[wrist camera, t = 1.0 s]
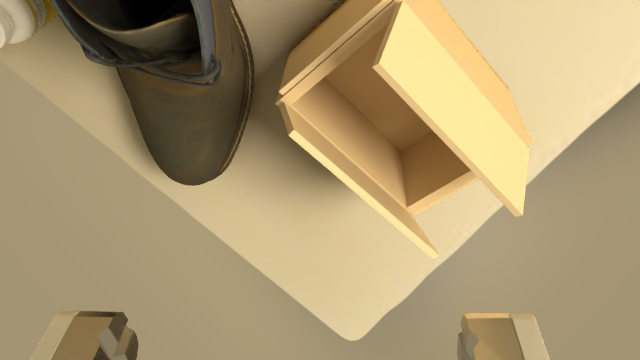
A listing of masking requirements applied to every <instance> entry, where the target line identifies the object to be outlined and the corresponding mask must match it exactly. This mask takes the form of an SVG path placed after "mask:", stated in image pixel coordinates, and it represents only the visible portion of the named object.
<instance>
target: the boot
mask: <svg viewBox="0 0 640 360" xmlns="http://www.w3.org/2000/svg"><path fill="white" fill-rule="evenodd" d="M50 2H51V4H52V6H53V7H54V9H55V11H56V12H57V14H58V15H59V17H60V18H61V20H62V22H63V23H64V25H65V26H66V28H67V29H68V30H69V31H70V33H71V34H72V35H73V36H74V38H75V39H76V40H77V41H78V42H79V43H80V44H81V47H82V49H83V51H84V53H85V55H86V57H87V58H88V59H90V60H91V61H94V62H96V63H99V64H103V65H106V66H111V67H116V69H117V72H118V74H119V76H120V79H121V81H122V83H123V86H124V88H125V90H126V93H127V95H128V97H129V99H130V102H131V105H132V108H133V111H134V114H135V116H136V119H137V122H138V125H139V127H140V130H141V133H142V135H143V138H144V140H145V143H146V145H147V147H148V149H149V151H150V153H151V155H152V156H153V158H154V160H155V162H156V163H157V165H158V166H159V167H160V169H161V170H162V171H163V172H164V173H165V174H166V175H167V176H168V177H169V178H171V179H172V180H174V181H176V182H178V183H181V184H184V185H192V186H194V185H201V184H204V183H206V182H208V181H211V180H213V179H215V178H216V177H218V176H219V175H221V174H222V173H223V172H224V171H225V170H226V168H227V167H228V166H229V164H230V163H231V161H232V159H233V157H234V154H235V152H236V150H237V148H238V145H239V143H240V140H241V137H242V134H243V131H244V128H245V125H246V121H247V118H248V114H249V110H250V105H251V100H252V95H253V87H254V62H253V55H252V51H251V46H250V43H249V39H248V36H247V33H246V31H245V28H244V26H243V24H242V21H241V19H240V17H239V15H238V13H237V11H236V9H235V6H234V4H233V1H232V0H50ZM90 51H91V52H92V53H94V55H93V54H92V53H91V52H90ZM111 61H112V62H111ZM113 62H114V63H113Z"/></svg>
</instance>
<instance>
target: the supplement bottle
mask: <svg viewBox="0 0 640 360" xmlns="http://www.w3.org/2000/svg"><path fill="white" fill-rule="evenodd" d="M57 15H58V14H57V12H56V11H55V9H54V7H53V6H52V4H51V2H50V0H0V48H1V47H3V46H4V45H6V44H18V43H21V42H24V41H25V40H27V39H28V38H30V37H31V36H32V35H33V34H35V33H36V32H37V31H38V30H40V29H41V28H42V27H43V26H45V25H46V24H47V23H48V22H49V21H51V20H52V19H53V18H54V17H56V16H57Z"/></svg>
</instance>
